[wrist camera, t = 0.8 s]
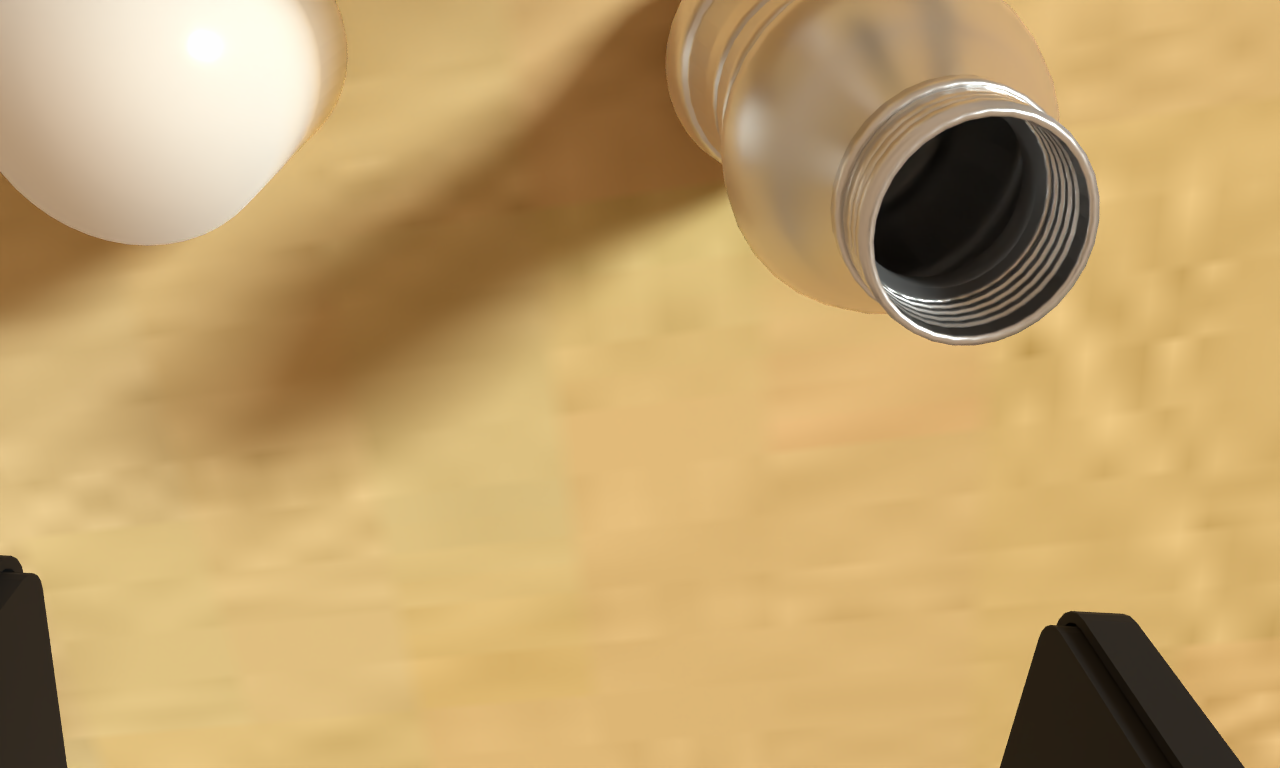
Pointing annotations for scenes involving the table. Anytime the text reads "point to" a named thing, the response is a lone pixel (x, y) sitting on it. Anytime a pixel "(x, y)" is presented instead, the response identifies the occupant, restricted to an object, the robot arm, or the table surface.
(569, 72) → the table surface
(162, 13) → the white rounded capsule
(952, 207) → the plastic bottle
